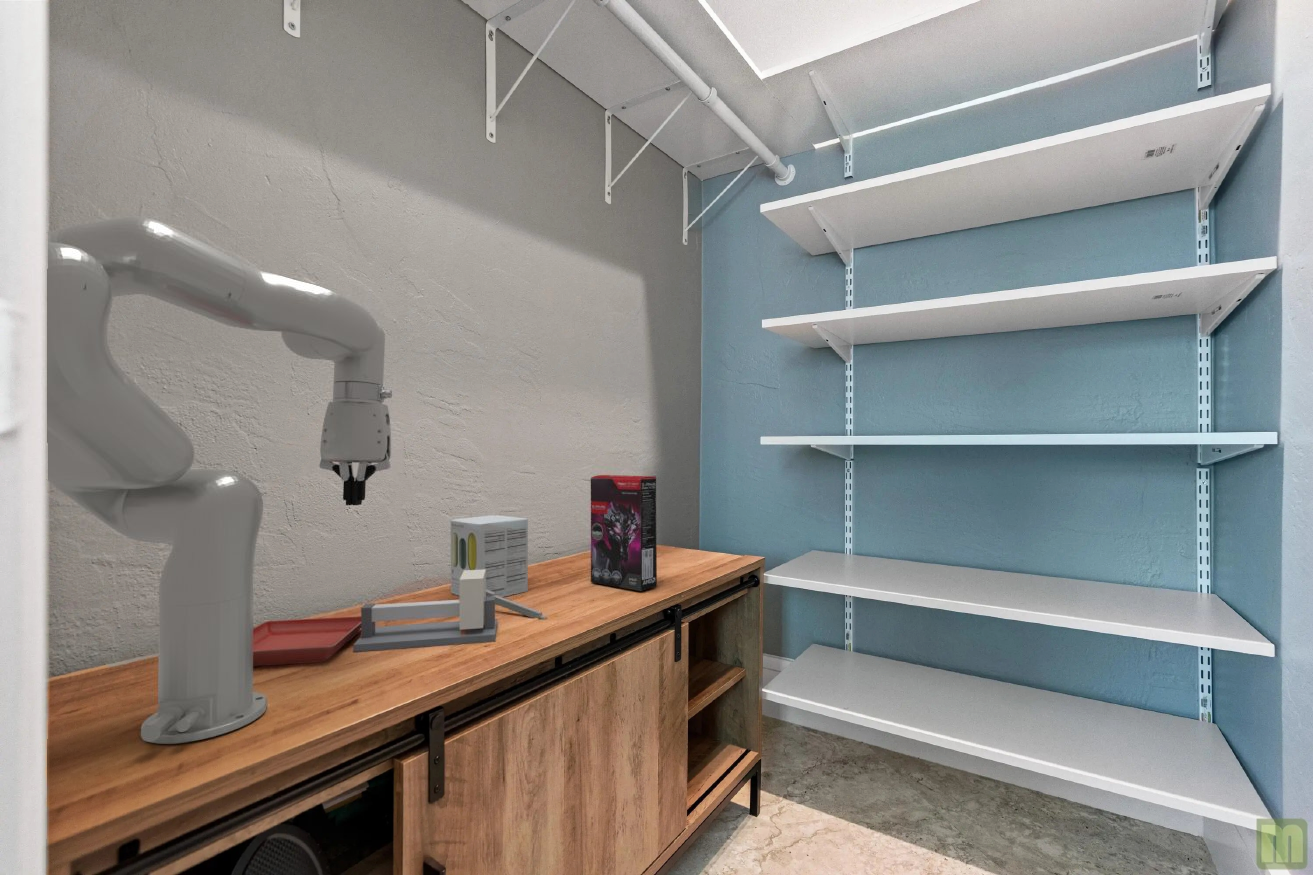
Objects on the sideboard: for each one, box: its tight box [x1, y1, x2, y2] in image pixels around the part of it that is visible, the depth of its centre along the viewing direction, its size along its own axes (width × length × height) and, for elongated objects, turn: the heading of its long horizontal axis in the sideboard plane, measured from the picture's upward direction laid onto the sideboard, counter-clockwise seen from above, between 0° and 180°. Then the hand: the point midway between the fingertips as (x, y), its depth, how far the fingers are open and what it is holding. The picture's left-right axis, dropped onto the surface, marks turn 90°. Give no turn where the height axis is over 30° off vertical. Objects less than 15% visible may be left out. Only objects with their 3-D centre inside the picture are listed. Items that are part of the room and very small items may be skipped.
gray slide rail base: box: [353, 596, 498, 653], centre depth 107 cm, size 10×23×6 cm, turn 103°
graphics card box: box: [590, 474, 658, 592], centre depth 146 cm, size 17×7×27 cm, turn 53°
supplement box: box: [450, 514, 529, 598], centre depth 140 cm, size 13×13×18 cm
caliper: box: [486, 589, 548, 620], centre depth 122 cm, size 20×1×6 cm, turn 65°
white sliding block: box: [459, 569, 486, 630], centre depth 108 cm, size 8×4×9 cm, turn 13°
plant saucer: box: [253, 615, 361, 667], centre depth 101 cm, size 18×18×3 cm
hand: (353, 504), depth 98 cm, fingers closed
